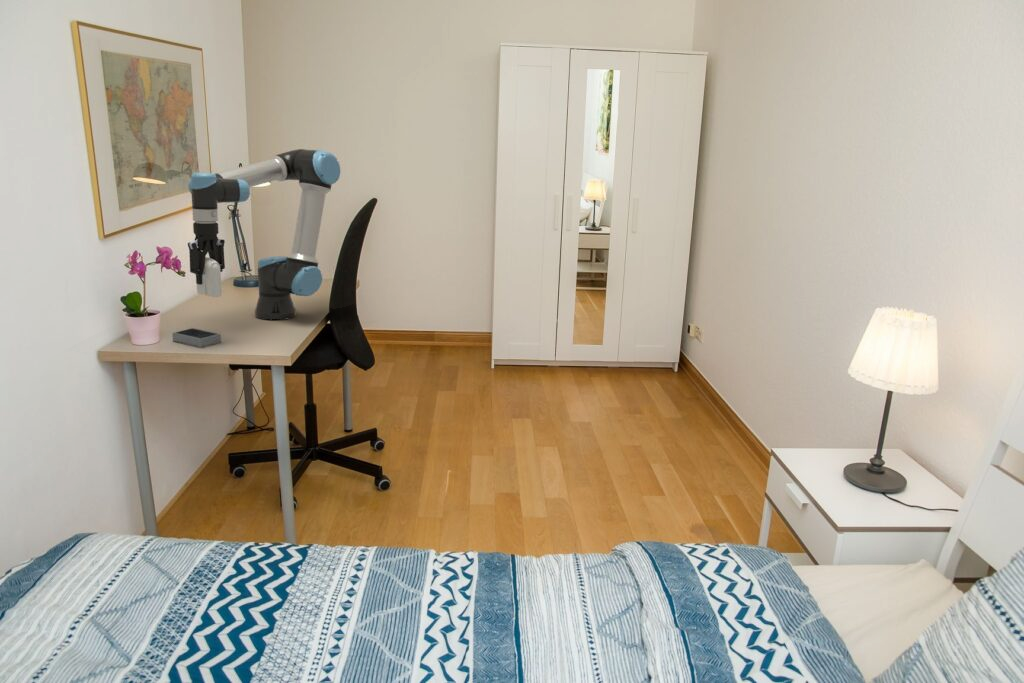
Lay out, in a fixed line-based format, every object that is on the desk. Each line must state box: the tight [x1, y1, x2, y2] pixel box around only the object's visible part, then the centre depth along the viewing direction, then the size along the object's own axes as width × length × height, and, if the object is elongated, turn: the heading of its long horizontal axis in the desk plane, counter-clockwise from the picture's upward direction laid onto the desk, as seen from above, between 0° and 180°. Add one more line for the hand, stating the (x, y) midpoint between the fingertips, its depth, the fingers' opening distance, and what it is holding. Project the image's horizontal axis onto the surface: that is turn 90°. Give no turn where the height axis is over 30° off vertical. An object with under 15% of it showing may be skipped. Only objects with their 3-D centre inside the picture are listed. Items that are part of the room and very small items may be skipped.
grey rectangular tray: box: [172, 327, 222, 349], centre depth 246 cm, size 8×13×3 cm, turn 64°
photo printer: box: [196, 257, 223, 298], centre depth 242 cm, size 10×4×12 cm, turn 51°
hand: (208, 292), depth 243 cm, fingers closed on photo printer, 5 cm apart
